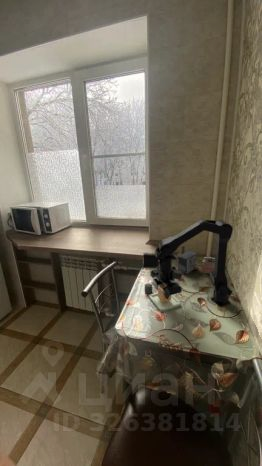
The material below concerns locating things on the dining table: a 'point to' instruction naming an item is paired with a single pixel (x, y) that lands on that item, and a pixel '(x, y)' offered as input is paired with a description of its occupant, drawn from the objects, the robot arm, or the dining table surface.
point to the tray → (166, 305)
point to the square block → (162, 293)
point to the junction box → (157, 286)
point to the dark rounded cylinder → (148, 288)
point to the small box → (186, 262)
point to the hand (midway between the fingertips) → (164, 296)
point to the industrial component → (181, 250)
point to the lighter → (208, 265)
